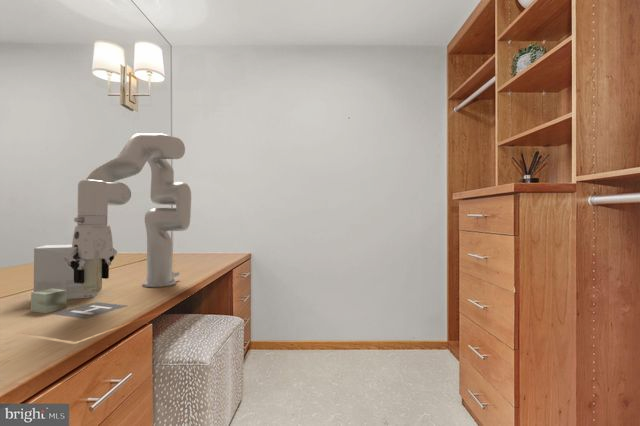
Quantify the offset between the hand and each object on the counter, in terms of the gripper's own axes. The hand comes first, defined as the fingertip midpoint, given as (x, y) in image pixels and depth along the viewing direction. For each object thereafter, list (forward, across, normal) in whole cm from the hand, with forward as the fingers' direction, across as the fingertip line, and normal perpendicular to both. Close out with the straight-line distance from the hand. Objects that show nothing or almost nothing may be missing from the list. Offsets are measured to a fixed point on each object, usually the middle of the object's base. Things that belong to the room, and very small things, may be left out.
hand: (91, 280), depth 103 cm
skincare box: (+4, 0, 0) cm, 4 cm away
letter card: (+9, 0, 0) cm, 9 cm away
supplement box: (+10, +11, +24) cm, 28 cm away
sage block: (+9, -4, +12) cm, 16 cm away
